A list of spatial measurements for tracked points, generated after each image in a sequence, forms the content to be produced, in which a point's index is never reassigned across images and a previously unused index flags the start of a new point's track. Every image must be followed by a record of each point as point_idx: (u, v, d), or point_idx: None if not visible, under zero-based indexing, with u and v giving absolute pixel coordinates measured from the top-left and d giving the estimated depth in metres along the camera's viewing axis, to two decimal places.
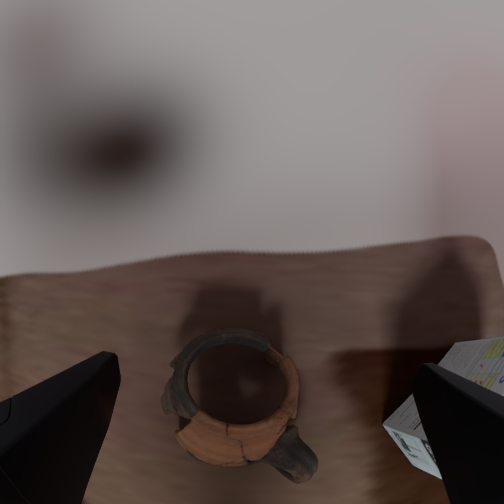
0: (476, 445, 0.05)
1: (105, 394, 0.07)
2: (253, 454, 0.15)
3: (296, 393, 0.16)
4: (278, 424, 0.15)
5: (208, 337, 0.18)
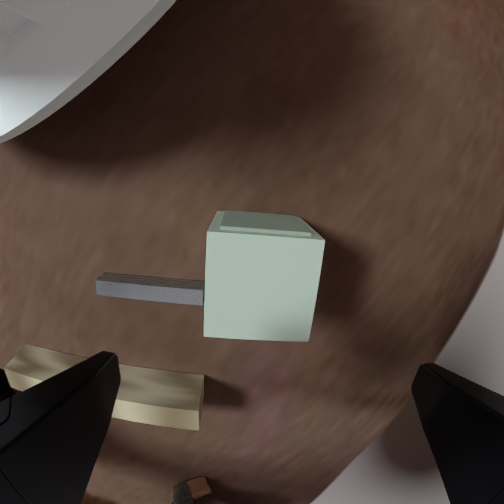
0: (476, 445, 0.05)
1: (105, 394, 0.07)
2: None
3: None
4: None
5: None
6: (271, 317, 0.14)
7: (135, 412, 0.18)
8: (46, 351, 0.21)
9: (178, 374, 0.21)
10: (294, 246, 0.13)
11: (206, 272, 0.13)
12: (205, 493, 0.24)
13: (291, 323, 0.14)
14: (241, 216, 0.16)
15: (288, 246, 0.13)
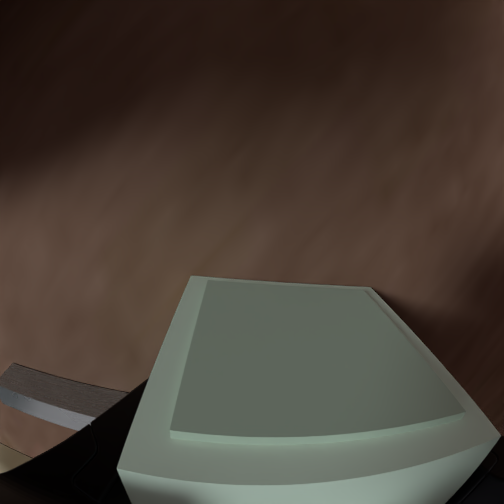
0: None
1: None
2: None
3: None
4: None
5: None
6: None
7: None
8: None
9: None
10: (425, 476, 0.03)
11: None
12: None
13: None
14: (247, 317, 0.06)
15: (409, 481, 0.03)
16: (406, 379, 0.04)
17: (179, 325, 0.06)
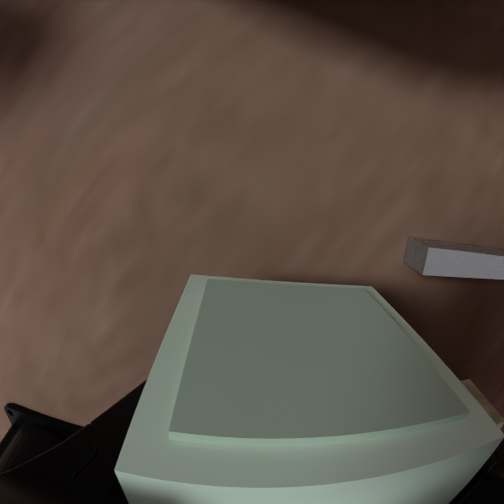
0: None
1: None
2: None
3: None
4: None
5: None
6: None
7: None
8: None
9: None
10: (429, 477, 0.03)
11: None
12: None
13: None
14: (247, 317, 0.06)
15: (412, 482, 0.03)
16: (409, 379, 0.04)
17: (179, 324, 0.06)
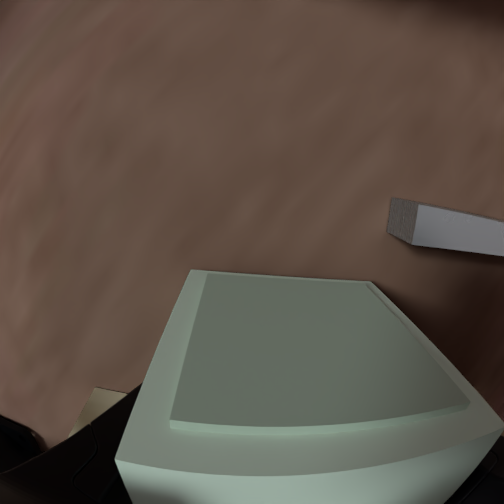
0: None
1: None
2: None
3: None
4: None
5: None
6: None
7: None
8: None
9: None
10: (431, 467, 0.03)
11: None
12: None
13: None
14: (247, 309, 0.06)
15: (414, 472, 0.03)
16: (409, 369, 0.04)
17: (179, 317, 0.06)
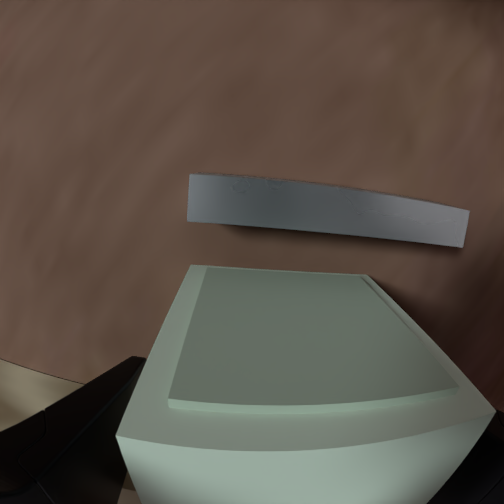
0: None
1: None
2: None
3: None
4: None
5: None
6: None
7: None
8: (33, 376, 0.09)
9: None
10: (420, 450, 0.03)
11: None
12: None
13: None
14: (244, 300, 0.06)
15: (403, 454, 0.03)
16: (399, 356, 0.04)
17: (179, 307, 0.06)
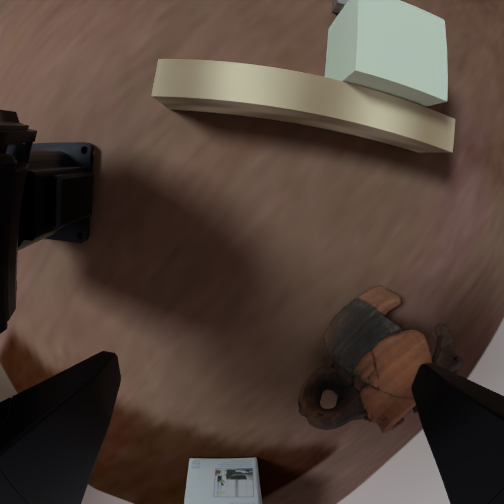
0: (476, 445, 0.05)
1: (105, 394, 0.07)
2: (372, 396, 0.16)
3: None
4: (387, 426, 0.16)
5: None
6: (416, 66, 0.11)
7: (388, 113, 0.13)
8: None
9: None
10: (424, 15, 0.10)
11: (359, 12, 0.10)
12: (394, 303, 0.19)
13: (432, 77, 0.11)
14: None
15: (420, 14, 0.10)
16: None
17: None
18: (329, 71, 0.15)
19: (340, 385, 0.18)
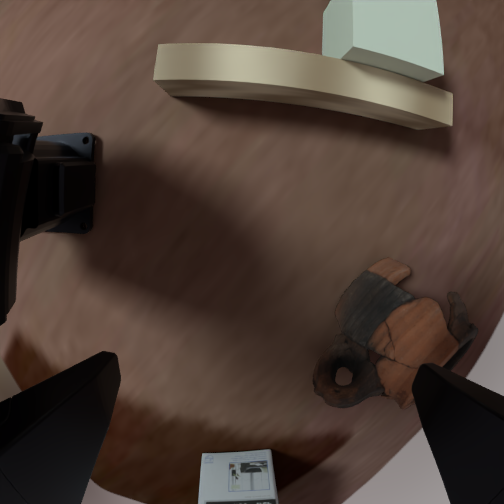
0: (476, 445, 0.05)
1: (105, 394, 0.07)
2: (389, 368, 0.16)
3: (404, 408, 0.17)
4: (406, 401, 0.15)
5: (466, 350, 0.17)
6: (411, 42, 0.11)
7: (387, 88, 0.13)
8: None
9: None
10: None
11: None
12: (404, 273, 0.18)
13: (427, 52, 0.11)
14: None
15: None
16: None
17: None
18: (326, 52, 0.15)
19: (355, 361, 0.18)
